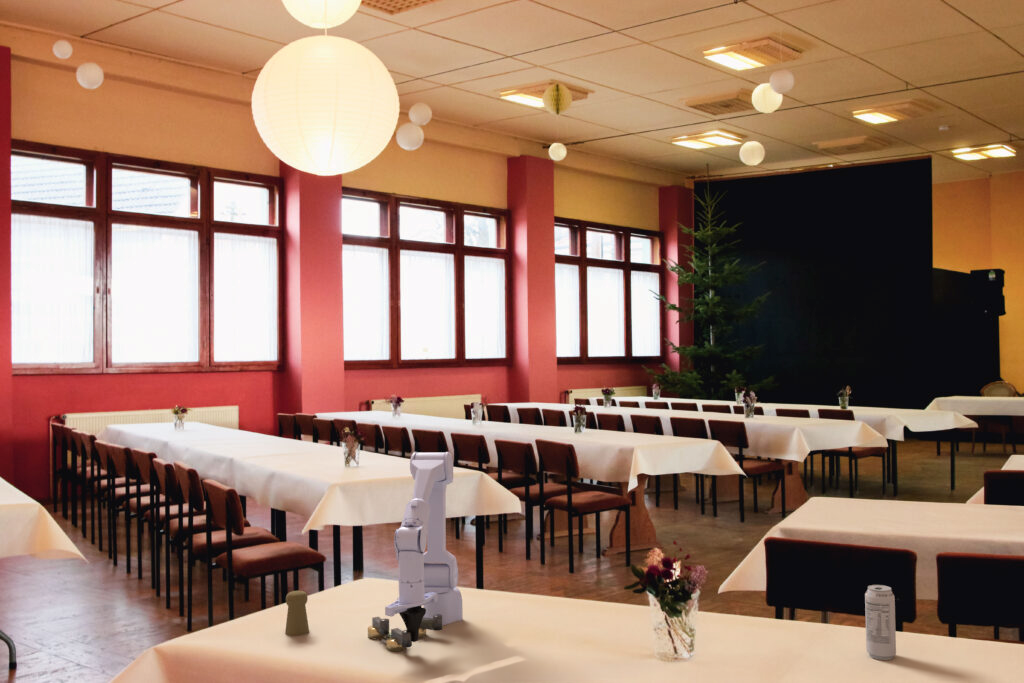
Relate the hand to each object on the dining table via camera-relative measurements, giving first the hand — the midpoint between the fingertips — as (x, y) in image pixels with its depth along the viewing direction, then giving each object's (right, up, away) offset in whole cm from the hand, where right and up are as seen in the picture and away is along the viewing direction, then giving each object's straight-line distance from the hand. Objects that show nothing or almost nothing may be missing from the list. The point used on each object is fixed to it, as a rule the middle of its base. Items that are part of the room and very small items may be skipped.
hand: (412, 640), depth 203 cm
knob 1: (-9, -3, +11) cm, 14 cm away
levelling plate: (-5, -4, +9) cm, 12 cm away
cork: (-30, -5, +17) cm, 35 cm away
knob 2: (-3, -3, +2) cm, 4 cm away
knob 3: (+2, -3, +12) cm, 12 cm away
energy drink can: (+103, -2, -5) cm, 103 cm away
